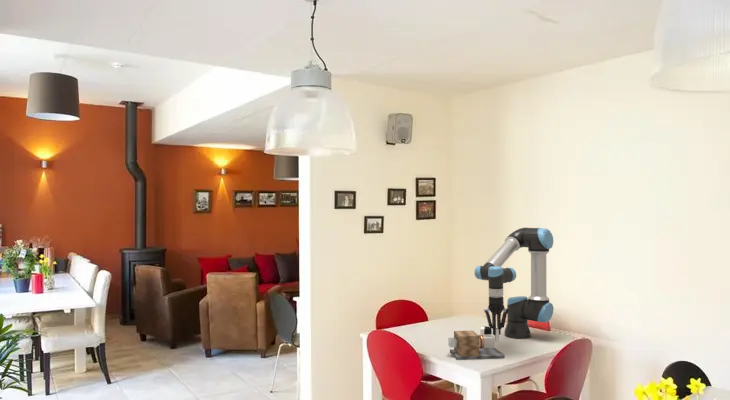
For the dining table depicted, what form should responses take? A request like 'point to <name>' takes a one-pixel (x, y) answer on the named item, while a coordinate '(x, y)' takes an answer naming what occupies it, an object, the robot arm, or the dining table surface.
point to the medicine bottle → (487, 337)
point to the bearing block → (472, 347)
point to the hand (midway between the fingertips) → (496, 341)
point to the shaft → (454, 342)
